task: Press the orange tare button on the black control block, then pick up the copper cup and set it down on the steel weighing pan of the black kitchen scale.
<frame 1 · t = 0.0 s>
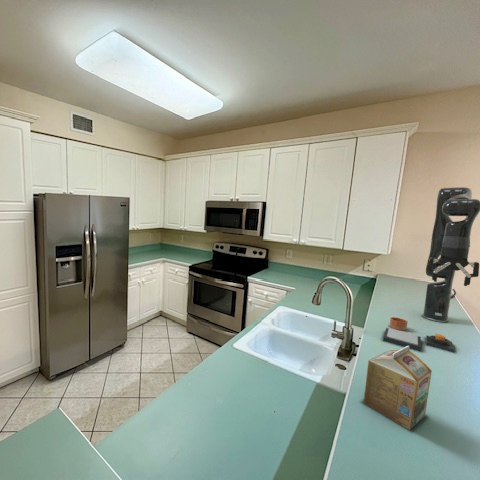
hand: (449, 283, 107), 29 cm above the worktop, tool pointing down, fingers open, 8 cm apart
control block: (439, 345, 113), on the worktop
milk carton: (393, 410, 74), on the worktop
scale: (401, 340, 116), on the worktop
copper cup: (397, 328, 129), on the worktop
tare button: (440, 337, 112), point 4 cm above the worktop, slide at 0.1 cm
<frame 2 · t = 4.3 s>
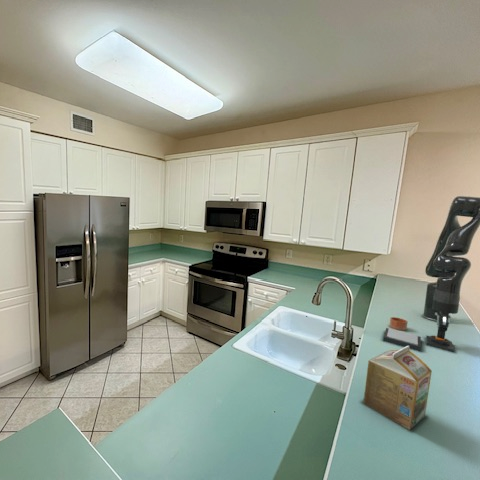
hand: (440, 337, 112), 4 cm above the worktop, tool pointing down, fingers closed
tare button: (440, 339, 113), point 3 cm above the worktop, slide at -0.7 cm, touching gripper
everything else where it was.
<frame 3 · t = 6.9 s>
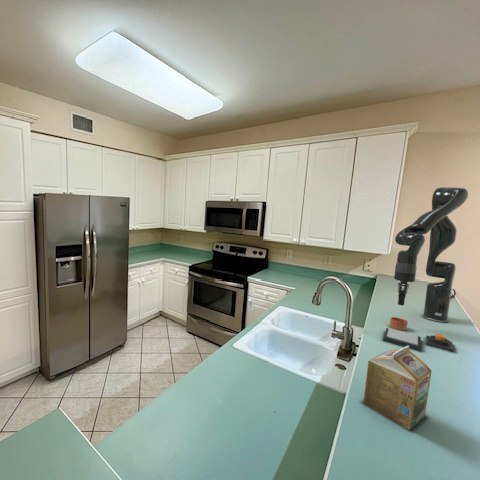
hand: (401, 303, 128), 13 cm above the worktop, tool pointing down, fingers open, 5 cm apart
tare button: (440, 337, 112), point 4 cm above the worktop, slide at 0.1 cm
everything else where it was.
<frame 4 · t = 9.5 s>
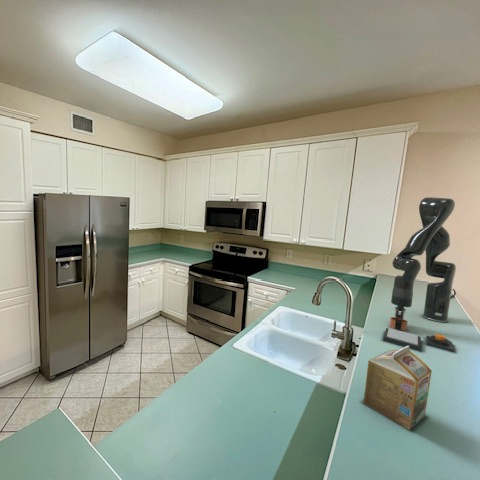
hand: (398, 326, 129), 1 cm above the worktop, tool pointing down, fingers closed on copper cup, 6 cm apart
copper cup: (397, 328, 129), on the worktop, touching gripper
everything else where it was.
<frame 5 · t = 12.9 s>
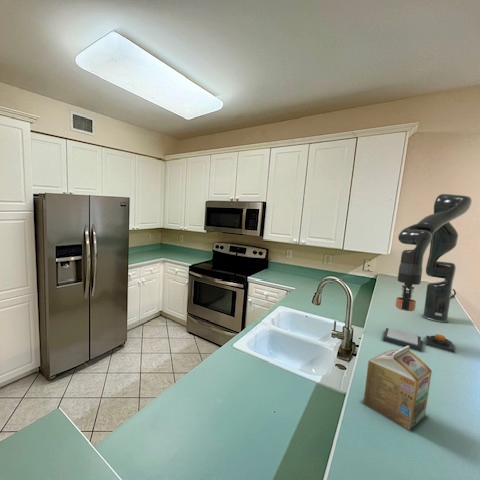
hand: (405, 307, 116), 15 cm above the worktop, tool pointing down, fingers closed on copper cup, 6 cm apart
copper cup: (404, 309, 116), point 15 cm above the worktop, touching gripper
everything else where it was.
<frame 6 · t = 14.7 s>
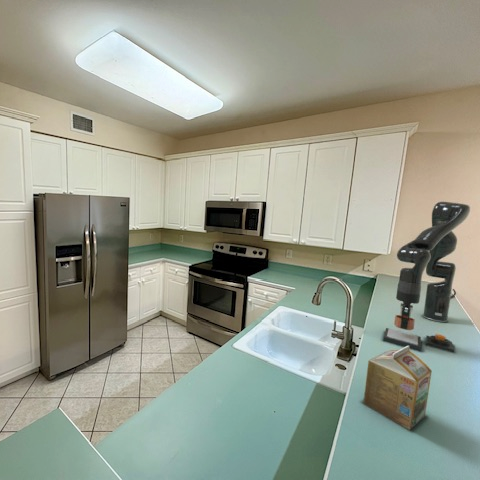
hand: (403, 325, 115), 7 cm above the worktop, tool pointing down, fingers closed on copper cup, 6 cm apart
copper cup: (403, 327, 115), point 7 cm above the worktop, touching gripper
everything else where it was.
when the fingers open (3 cm above the worktop, at t = 16.3 s): copper cup stays where it is, resting on scale.
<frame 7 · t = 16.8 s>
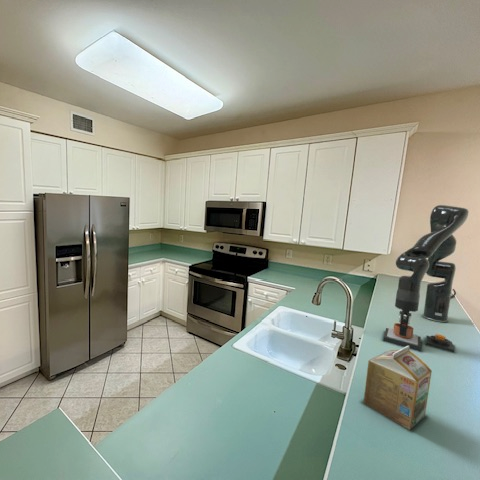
hand: (402, 332, 115), 4 cm above the worktop, tool pointing down, fingers open, 8 cm apart
copper cup: (402, 335, 116), point 3 cm above the worktop, touching scale
everything else where it was.
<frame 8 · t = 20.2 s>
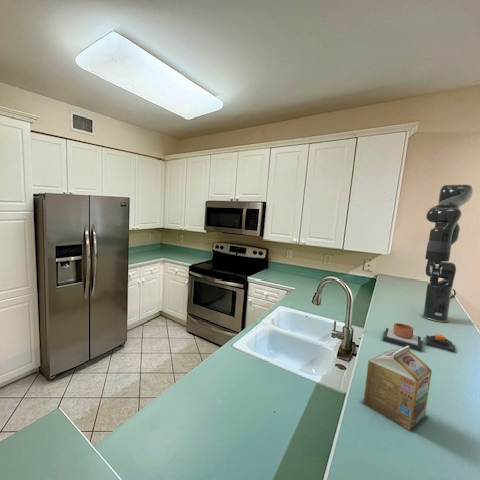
hand: (433, 284, 118), 26 cm above the worktop, tool pointing down, fingers open, 8 cm apart
nothing on the worktop moved.
at the end: tare button pushed in 0.9 cm at the most during the clip and back out by the end; copper cup inside the target area on the scale (0.0 cm from its centre), point 2.6 cm above the scale's base; copper cup tilted 0° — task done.
